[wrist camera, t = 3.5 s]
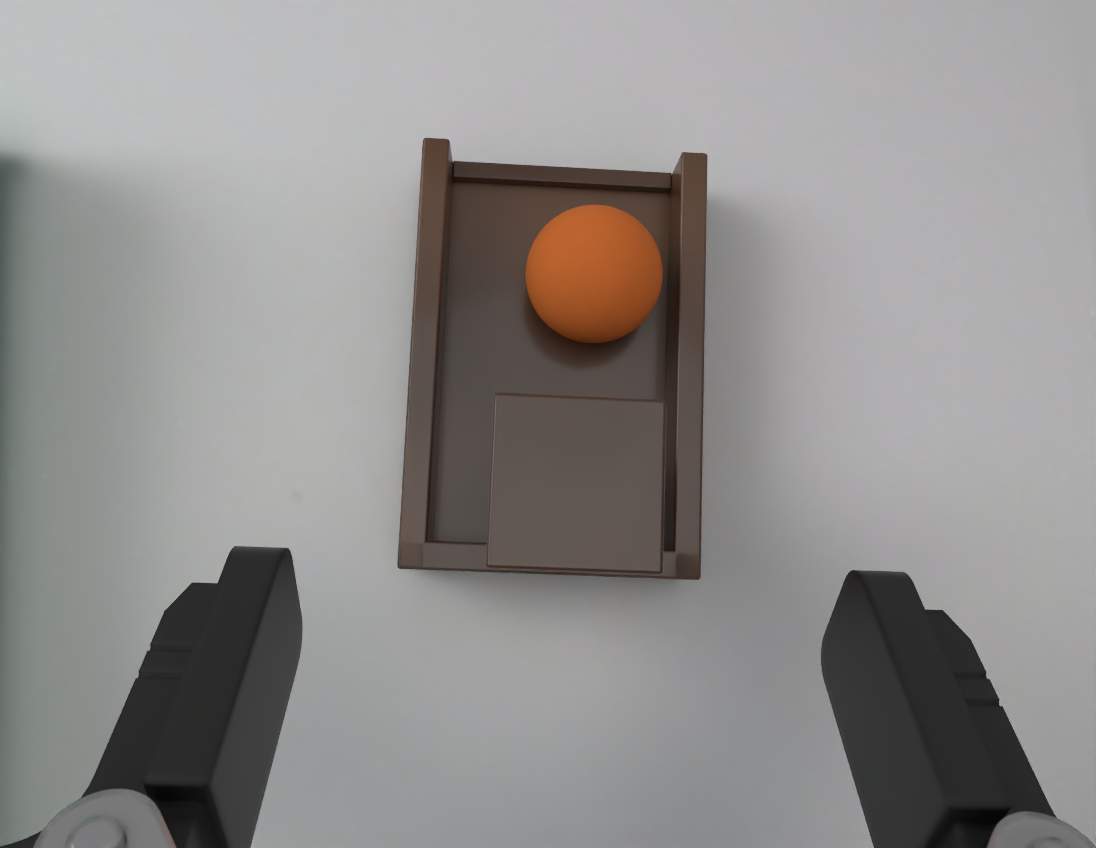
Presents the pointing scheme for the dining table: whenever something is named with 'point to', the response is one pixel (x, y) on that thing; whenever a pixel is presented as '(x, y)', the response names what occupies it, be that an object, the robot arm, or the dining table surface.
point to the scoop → (551, 384)
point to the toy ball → (594, 273)
